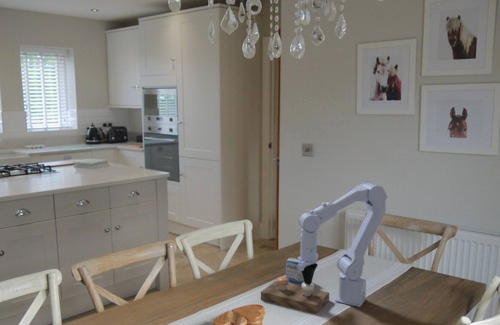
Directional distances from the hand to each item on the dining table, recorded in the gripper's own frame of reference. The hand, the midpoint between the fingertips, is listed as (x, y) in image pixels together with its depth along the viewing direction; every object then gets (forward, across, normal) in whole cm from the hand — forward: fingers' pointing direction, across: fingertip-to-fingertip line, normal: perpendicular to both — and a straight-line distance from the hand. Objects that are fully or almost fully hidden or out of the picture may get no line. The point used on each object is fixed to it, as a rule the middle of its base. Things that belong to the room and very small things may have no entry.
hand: (307, 283), depth 157 cm
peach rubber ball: (+4, 0, -10) cm, 11 cm away
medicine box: (+8, -17, -12) cm, 22 cm away
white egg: (+4, 0, 0) cm, 4 cm away
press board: (+7, 0, -5) cm, 9 cm away
